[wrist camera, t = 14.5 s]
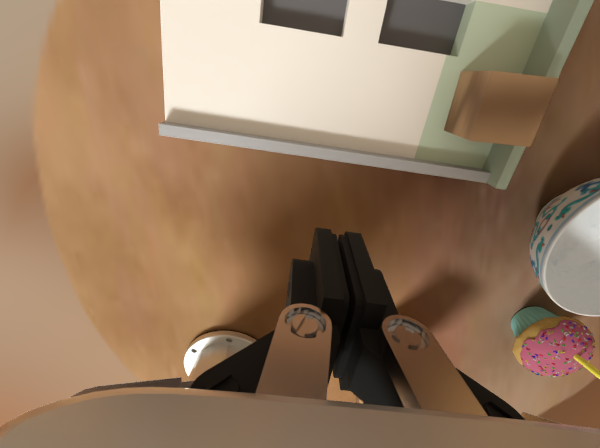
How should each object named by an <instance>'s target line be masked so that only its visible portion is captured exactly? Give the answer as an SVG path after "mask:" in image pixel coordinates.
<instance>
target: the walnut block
mask: <svg viewBox="0 0 600 448" xmlns="http://www.w3.org/2000/svg"><path fill="white" fill-rule="evenodd" d="M559 79H560V78H553V77H544V76H535V75H527V74H518V73H509V72H500V71H461V73H460V76H459V80H458V83H457V86H456V90H455V93H454V97H453V100H452V103H451V107H450V110H449V114H448V117H447V120H446V124H445V127H444V131H446V132H449V133H451V134H454V135H456V136H459V137H461V138H464V139H466V140H469V141H477V142H486V143H496V144H505V145H515V146H525V147H531V145H532V142H533V140H534V138H535V135H536V133H537V131H538V128H539V126H540V124H541V121H542V119H543V117H544V114H545V112H546V110H547V107H548V105H549V103H550V100H551V98H552V96H553V93H554V91H555V88H556V86H557V84H558V81H559Z"/></svg>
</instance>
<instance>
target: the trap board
mask: <svg viewBox="0 0 600 448" xmlns="http://www.w3.org/2000/svg"><path fill="white" fill-rule="evenodd" d="M593 1H594V0H160V13H161V35H162V57H163V80H164V102H165V122H162V123H159V135H162V136H169V137H175V138H182V139H189V140H196V141H203V142H209V143H216V144H223V145H230V146H237V147H243V148H250V149H257V150H264V151H271V152H278V153H284V154H291V155H298V156H305V157H312V158H318V159H325V160H332V161H339V162H346V163H352V164H359V165H366V166H373V167H380V168H386V169H393V170H400V171H407V172H414V173H420V174H427V175H434V176H441V177H448V178H455V179H461V180H468V181H475V182H482V183H487V184H489V185H490V186H492V187H494V188H496V189H503V190H506V188H507V186H508V184H509V182H510V180H511V177H512V175H513V173H514V171H515V169H516V167H517V165H518V162H519V160H520V158H521V156H522V154H523V152H524V150H525V146H515V145H505V144H496V143H486V142H477V141H469V140H466V139H464V138H461V137H459V136H456V135H454V134H451V133H449V132H446V131H444V127H445V124H446V120H447V117H448V114H449V110H450V107H451V103H452V100H453V97H454V93H455V90H456V86H457V83H458V80H459V76H460V73H461V71H500V72H509V73H518V74H527V75H535V76H544V77H553V78H558V77H559V74H560V72H561V70H562V68H563V66H564V64H565V61H566V59H567V57H568V55H569V53H570V51H571V49H572V46H573V44H574V42H575V40H576V38H577V36H578V34H579V31H580V29H581V27H582V25H583V23H584V21H585V19H586V16H587V14H588V12H589V10H590V8H591V6H592V3H593Z"/></svg>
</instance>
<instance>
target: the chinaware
mask: <svg viewBox="0 0 600 448" xmlns="http://www.w3.org/2000/svg"><path fill="white" fill-rule="evenodd" d="M530 259H531V264H532V267H533V270H534V272H535V275H536V277H537V279H538V281H539V282H540V284H541V286H542V287H543V289H544V290H545V292H546V293H547V295H548V296H549V297H550V298H551V299H552V300H553V301H554V302H555V303H556V304H557V305H558V306H560V307H561V308H563V309H565V310H567V311H569V312H572V313H575V314H579V315H585V316H600V178H597V179H594V180H591V181H588V182H585V183H583V184H580V185H578V186H576V187H574V188H572V189H570V190H568V191H567V192H565V193H564V194H561V195H559V196H557V197H556V198H554V199H552V200H551V201H550V202H549V203H547V204H546V205H545V206H544V208H543V209H542V210H541V211H540V213H539V215H538V217H537V219H536V223H535V226H534V228H533V231H532V234H531V239H530Z"/></svg>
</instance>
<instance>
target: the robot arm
mask: <svg viewBox="0 0 600 448" xmlns="http://www.w3.org/2000/svg"><path fill="white" fill-rule="evenodd" d="M184 368H185V371H186V373H187V374H188V376H189V377H188V380H187V382H182V380H181V378H171V379H162V380H153V381H143V382H134V383H125V384H115V385H106V386H97V387H93V388H89V389H85V390H83V391H81V392H79V393H77V394H75V395H73V396H71V397H70V398H66V399H62V400H59V401H56V402H53V403H49V404H46V405H43V406H41V407H38V408H36V409H33V410H31V411H28V412H25V413H23V414H21V415H19V416H18V417H16V418H14V419H12V420H10V421H8V422H6V423H4V424H3V425H1V426H0V448H600V429H595V428H588V427H580V426H572V425H564V424H560V423H557V422H554V421H550V420H547V419H544V418H541V417H537V416H534V415H531V414H528V413H525V412H523V413H522V414H521V415H520V414H519V413H518V412H517V411H516V410H515V409H514V408H513V407H511V406H510V405H509V404H508V403H506V402H505V401H503V400H502V399H501V398H499V397H498V396H496V395H495V394H493V393H492V392H490V391H489V390H487V389H486V388H484V387H483V386H481V385H480V384H479V383H477V382H476V381H474V380H473V379H471V378H470V377H468V376H467V375H465V374H464V373H462V372H461V371H460V370H458V369H457V368H455V367H454V365H453V364H452V362H451V361H450V359H449V358H448V356H447V355H446V353H445V352H444V350H443V349H442V347H441V346H440V344H439V343H438V341H437V340H436V339H435V337H434V336H433V334H432V333H431V332H430V331H429V329H428V328H427V327H426V326H424V325H423V324H422V323H421V322H419V321H417V320H415V319H413V318H411V317H408V316H404V315H399V314H398V312H397V309H396V307H395V304H394V302H393V299H392V297H391V294H390V292H389V290H388V287H387V285H386V282H385V280H384V277H383V275H382V272H381V271H380V270H377V269H374V267H373V265H372V262H371V259H370V257H369V254H368V251H367V249H366V246H365V243H364V240H363V238H362V235H361V234H360V233H352V232H345V234H344V235H339V238H338V241H337V236H336V234H332V232H331V230H330V229H322V228H316V229H315V234H314V239H313V244H312V249H311V255H310V260H309V261H306V260H298V259H292V263H291V269H290V275H289V282H288V290H287V301H286V308H285V309H284V310H283V311H282V312H281V314H280V316H279V319H278V322H277V325H276V329H275V330H274V331H272V332H270V333H269V334H267V335H265V336H264V337H262V338H260V339H259V340H255V339H254V338H252V337H250V336H248V335H246V334H242V333H239V332H234V331H214V332H210V333H206V334H204V335H202V336H200V337H198V338H196V339H195V340H194V341H193V342H192V343H191V344H190V345H189V347H188V349H187V351H186V353H185V357H184ZM332 369H333V376H334V378H339V383H340V390H347V391H352V392H353V393H354V394H355V395H356V396H357V398H356V403H351V402H341V401H330V400H326V398H327V387H328V383H329V380H330V376H331V373H332Z"/></svg>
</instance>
